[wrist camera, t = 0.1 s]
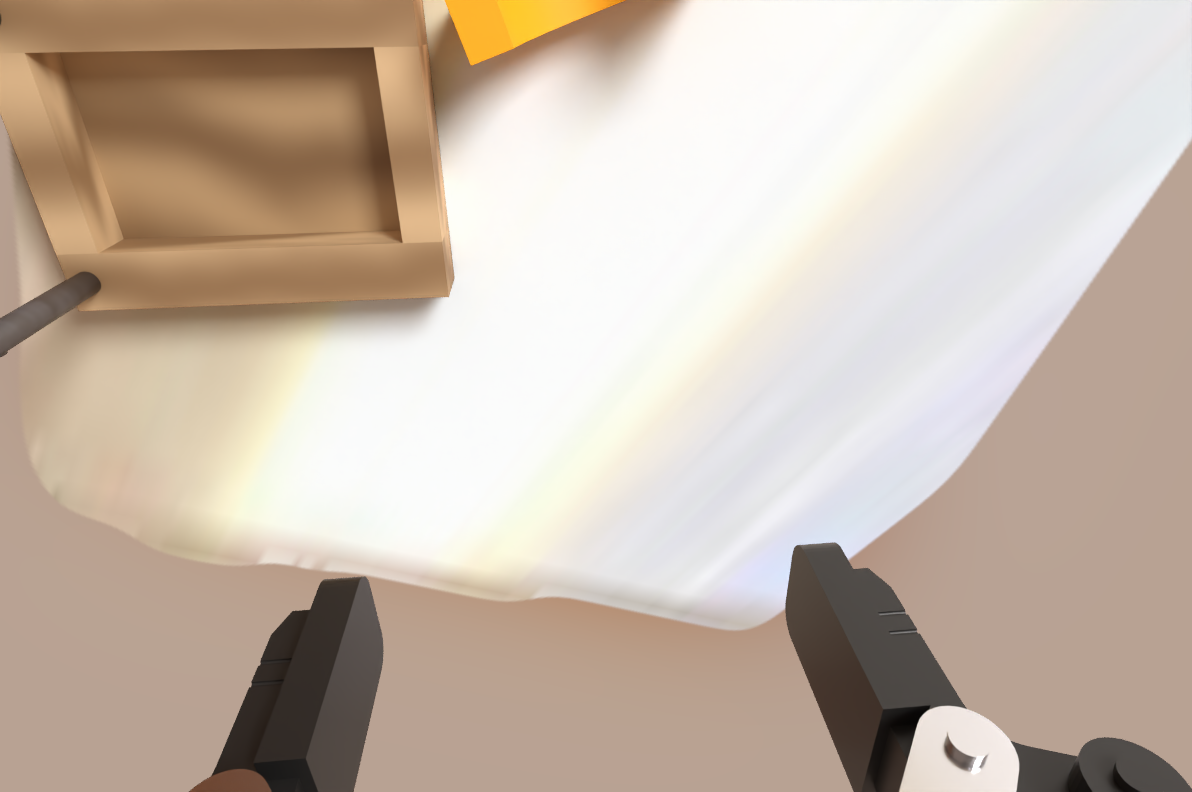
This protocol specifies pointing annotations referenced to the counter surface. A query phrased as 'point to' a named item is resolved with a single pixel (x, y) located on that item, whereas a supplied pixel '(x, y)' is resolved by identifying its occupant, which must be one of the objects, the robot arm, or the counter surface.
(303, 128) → the wooden tray
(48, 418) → the counter surface
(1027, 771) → the robot arm
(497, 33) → the pipe clamp
